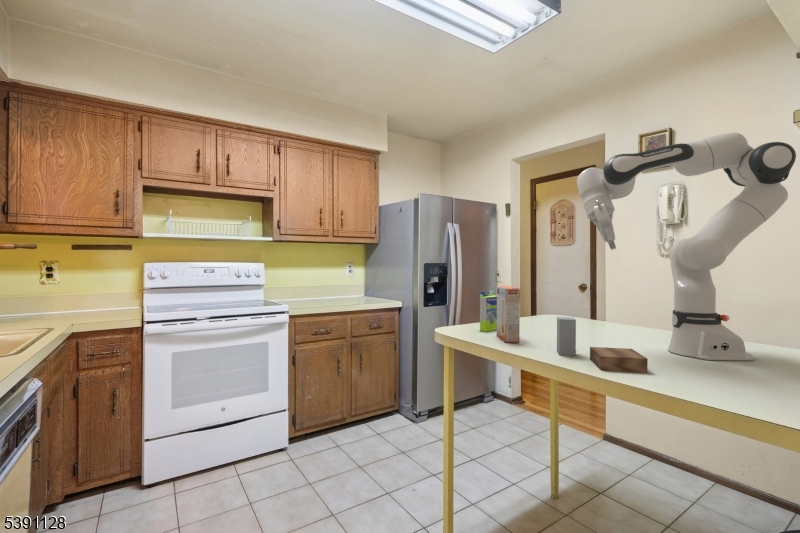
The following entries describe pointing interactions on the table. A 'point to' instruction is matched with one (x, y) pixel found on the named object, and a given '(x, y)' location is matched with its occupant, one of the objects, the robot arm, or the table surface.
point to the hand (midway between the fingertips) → (612, 244)
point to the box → (488, 311)
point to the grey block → (566, 336)
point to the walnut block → (618, 359)
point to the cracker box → (508, 313)
